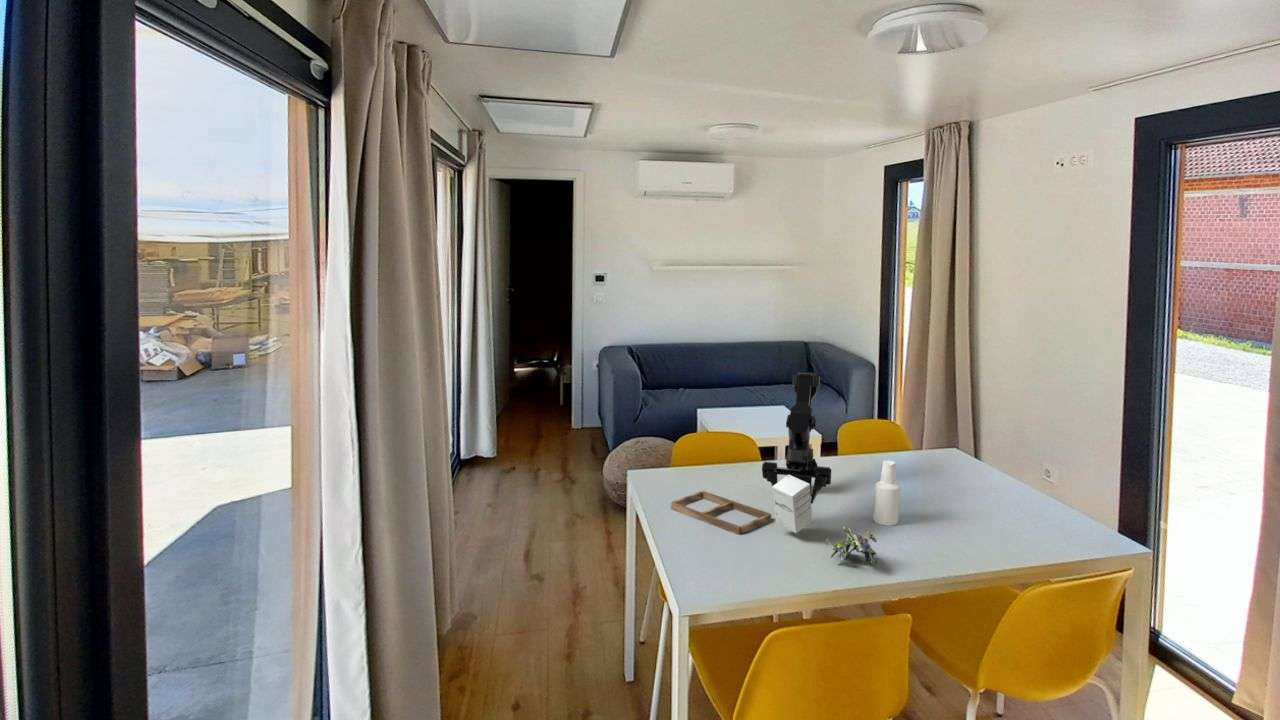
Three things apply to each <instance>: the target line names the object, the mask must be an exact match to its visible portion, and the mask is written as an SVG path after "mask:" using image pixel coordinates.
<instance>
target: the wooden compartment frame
mask: <svg viewBox="0 0 1280 720" xmlns="http://www.w3.org/2000/svg"><path fill="white" fill-rule="evenodd" d="M703 498H704V500H707V501H710V502H712V503H715V504H718V505H717V506H715V507H713V508H710V509H708V510H705V511H702V512H701V511H699V510H696V509H693V508H691V507H687V506H686V505H688V503H689V504H692V503H694V502H697V501H699V500H702V499H703ZM670 508H671V509H670V510H672V511H675V512H678V513H680V514H683V515H686V516H689V517H690V518H693V519H697V520H698V521H702V522H704V523H706V522H707V524H709V525H712V524H713V525H712V526H714V525H715V527H717V526H718V527H717V528H720V529H722V528H723V529H722V530H725V529H726V531H727V530H729V531H728V532H730V531H731V533H733V532H734V533H733V534H735V533H736V535H738V534H739V535H744V534H746V533H748V532H747V531H749V530H751V531H753V530H755V529H757V528H759V526H760V527H762V526H764V525H766V524H768V522H769V523H770V522H771V520H772V513H770V512H767V511H764V510H761V509H758V508H755V507H752V506H748V505H746V504H744V503H740V502H738V501H735V500H731V499H729V498H726V497H722V496H719V495H716V494H713V493H710V492H707V491H705V490H703V491H701V490H700V491H698V492H695V493H692V494H690V495H687V496H684V497H681V498H678V499H674V500H673V501H671V503H670ZM732 509H733V510H735V511H738V512H741V513H744V514H747V515H749V516H751V517H752V516H753V517H756V519H754V520H752V521H749V522H747V523H744V524H741V525H737V524H734V523H731V522H728V521H726V520H724V519H720V518H718V517H715V516H718V515H720V514H723V513H725V512H727V511H729V510H732ZM761 525H762V526H761ZM756 527H757V528H756ZM754 528H755V529H754ZM752 529H753V530H752ZM745 532H746V533H745ZM749 532H750V531H749ZM743 533H744V534H743Z"/></svg>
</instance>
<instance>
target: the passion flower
mask: <svg viewBox="0 0 1280 720" xmlns="http://www.w3.org/2000/svg"><path fill="white" fill-rule="evenodd" d="M842 528H843V532H844V533H845V534H846V536H847V537H846V540H845V541H844V540H840V541H839V542H836V543H832V542H831V541H830V540H831V539H830V538H829V537H827V538H826V540H825V544H826V545H829V544H831V545H832V546H833V548H832V550H833V552H832V554H831V556H830V558H831V559H832V558H833V557H834V556H835V555H836V554H837V553H839V552H840V560H839V562H838V564H837V565H838V566H840V565H841V564H842V562H843V561H845V560H846V559H848V557H849V555H850V554H851V553H852V552H853V551H856V553H862V554H863V555H864V557H865V562H866V564H867V565H868V566H871V567H873V566H874V564H878V563H879V560H878V559H876V557H877V554H878V553H877V552H876V551H875V550H874V549H873V548H872V547H871V544H869V541H870V540H872V541H873V542H875V543H877V542H878V541H877V539H876V538H875V536H874V534H873V533H871V532H870V531H869V530H868V529H865V532H866V534H867V535H868V537H866V538H865V537H863V536H862V535H861V534H860V532H858V531H857V530H856V529H855V528H852V529H851V528H849V527H848V528H847V529H846V526H843V527H842ZM850 547H852V548H851V549H850ZM873 563H874V564H873Z"/></svg>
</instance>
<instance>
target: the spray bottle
mask: <svg viewBox="0 0 1280 720" xmlns="http://www.w3.org/2000/svg"><path fill="white" fill-rule="evenodd" d="M896 473H897V470H896V462H895V461H893V460H888V459H887V460H883V462H882V468H881V475H880V480H879V481H877V482H875V483H874V484H875V485H874V500H873V517H872V520H873V522H875V523H876V524H878V525H882V526H886V527H887V526H888V527H891V526H892V527H893V526H896V525H897V524H898V523H899V513H900V512H899V511H900V498H901V497H900V496H901V485H900V484H899V483H897V482H896V480H897V476H896V475H897V474H896Z"/></svg>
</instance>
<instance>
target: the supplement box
mask: <svg viewBox="0 0 1280 720" xmlns="http://www.w3.org/2000/svg"><path fill="white" fill-rule="evenodd" d="M771 486H772V485H771ZM771 488H772V497H773V507H774V515H775V516H774V518H775V523H776V524H779V525H780V526H782V527H784V528H786V529H788V530H789V531H791V532H794V534H797V533H799V532H800V531H801V530H802V529H803V528H805V527H806V526H807V525H809V524H810V523H811V522H812V521H813V514H812V513H813V511H812V509H813V508H812V504H811V494H812V493H811V494H810V484H809V483H807V482H805V481H802V480H800V479H798V478H796V477H793V476H791V475H785V477H783V478H782V479H780V480H779V481H778V483H776V484H775V485H774V486H772V487H771Z"/></svg>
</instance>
